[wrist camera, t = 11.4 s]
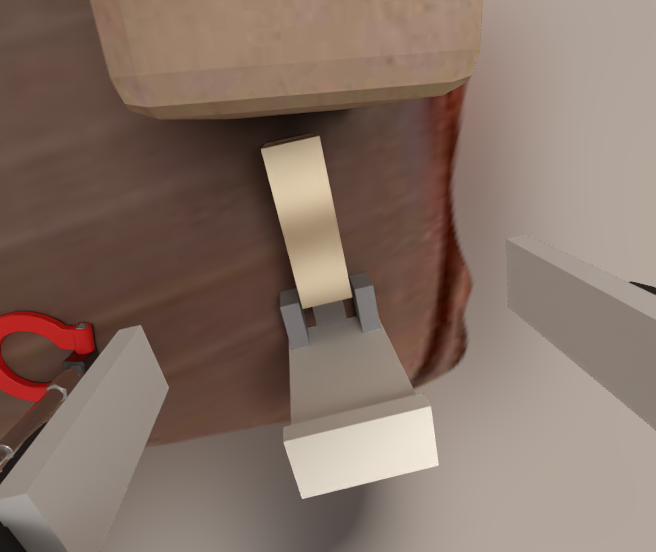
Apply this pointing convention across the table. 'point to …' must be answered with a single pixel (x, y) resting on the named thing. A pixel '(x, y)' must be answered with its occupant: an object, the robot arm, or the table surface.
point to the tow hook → (43, 393)
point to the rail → (309, 225)
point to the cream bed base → (351, 401)
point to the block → (283, 54)
